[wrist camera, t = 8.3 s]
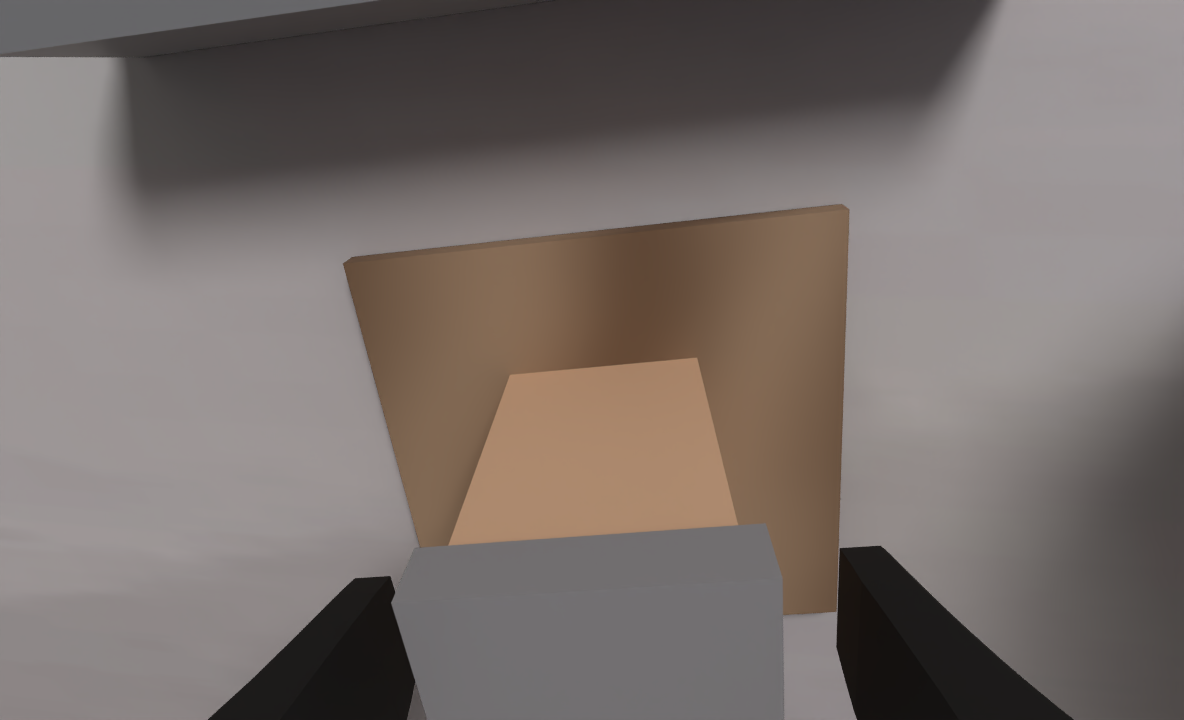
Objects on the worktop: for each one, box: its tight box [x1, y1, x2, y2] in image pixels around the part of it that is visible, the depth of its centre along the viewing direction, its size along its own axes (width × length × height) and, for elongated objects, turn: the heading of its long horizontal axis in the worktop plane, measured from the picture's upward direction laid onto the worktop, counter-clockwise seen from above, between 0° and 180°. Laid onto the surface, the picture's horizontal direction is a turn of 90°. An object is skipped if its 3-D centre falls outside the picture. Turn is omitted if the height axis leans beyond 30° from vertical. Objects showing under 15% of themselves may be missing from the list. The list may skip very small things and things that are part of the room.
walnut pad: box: [343, 204, 849, 615], centre depth 16 cm, size 10×10×1 cm
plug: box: [391, 358, 784, 720], centre depth 12 cm, size 5×5×7 cm
